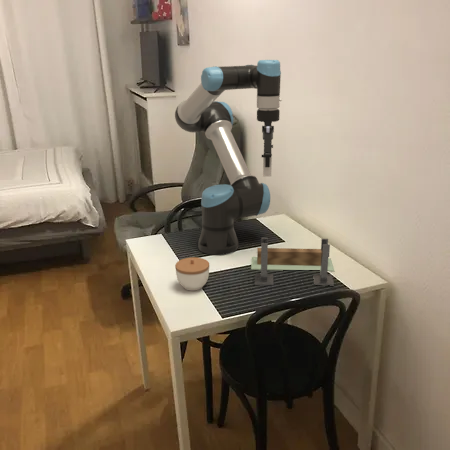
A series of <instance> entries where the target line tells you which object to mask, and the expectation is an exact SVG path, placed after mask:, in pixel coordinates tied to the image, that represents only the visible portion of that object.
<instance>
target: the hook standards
mask: <svg viewBox="0 0 450 450" xmlns="http://www.w3.org/2000/svg"><path fill="white" fill-rule="evenodd" d="M320 241H321V242H320V244H321V245H320V249H321V268H320V271H319V274H313V276H312V279H314V280H313V284H315V285H330V286H334V287H335V282H334V279H333V275H330V274H329V275H328V272H327V271H328V258H330V248H331V244H330V243H329V239H328V238H321V239H320ZM260 245H261V247H260V248H261V270H260V273H255V274H254V285H255V286H274V273H268V270H267V260H268V248H269V238H268V237H261V244H260Z"/></svg>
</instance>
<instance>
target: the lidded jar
mask: <svg viewBox="0 0 450 450" xmlns="http://www.w3.org/2000/svg"><path fill="white" fill-rule="evenodd" d="M174 267H175V275H176V278H177V281H178V283H179V284H180V285H181V286H182V287H183V289H185V290H187V291H192V292H193V291H199V290H201V289H203V287H204V286H205V285H206V283H207V282H208V279H209V275H210V262H209V261H208V260H207V259H205V258H203V257H202V258H201V257H193V256H192V257H186V258H182V259H179V260H178V261H177V262H175V265H174Z"/></svg>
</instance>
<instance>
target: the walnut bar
mask: <svg viewBox="0 0 450 450" xmlns="http://www.w3.org/2000/svg"><path fill="white" fill-rule="evenodd" d="M256 255H257V256H256V257H257V264H258V265H261V247H257V254H256ZM267 265H304V266H321V248H284V247H283V248H282V247H281V248H280V247H268V260H267Z"/></svg>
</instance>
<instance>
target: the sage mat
mask: <svg viewBox="0 0 450 450" xmlns="http://www.w3.org/2000/svg"><path fill="white" fill-rule="evenodd" d="M333 264H334V263H333V261H332V258H330V257H328V271H334V272H335V268H334V265H333ZM250 265H251V266H250V270H252V271H261V265H258V264H257V256H251V264H250ZM320 268H321V266H304V265H267V271H283V270H320Z"/></svg>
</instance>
